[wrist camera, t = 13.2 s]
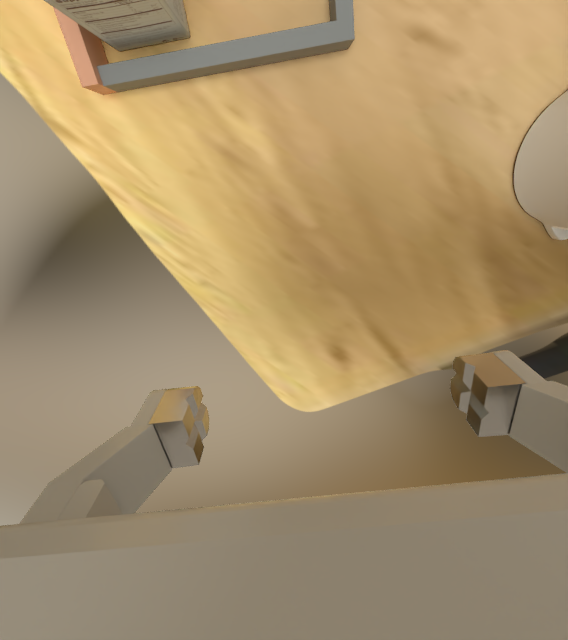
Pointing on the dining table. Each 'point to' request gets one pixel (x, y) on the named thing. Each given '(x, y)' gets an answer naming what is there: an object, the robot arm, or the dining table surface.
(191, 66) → the bay
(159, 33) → the supplement box
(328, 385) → the dining table surface
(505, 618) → the robot arm
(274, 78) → the dining table surface
